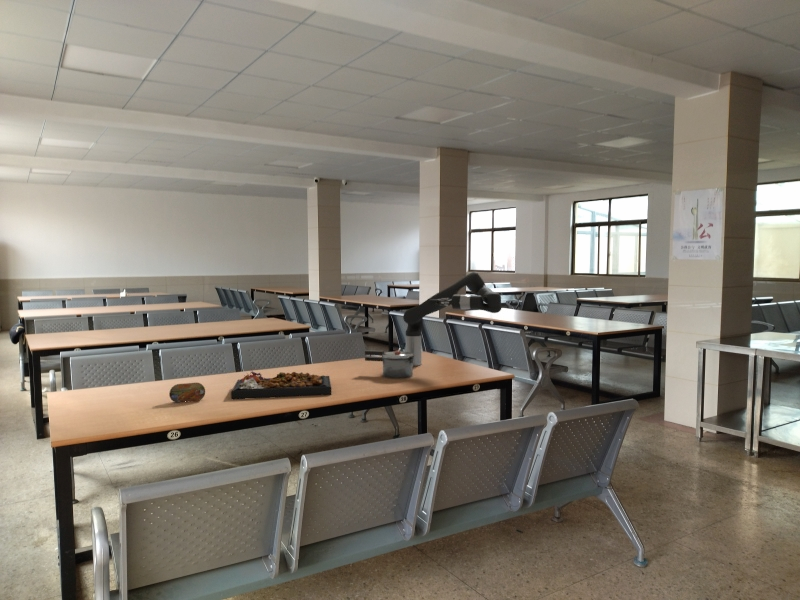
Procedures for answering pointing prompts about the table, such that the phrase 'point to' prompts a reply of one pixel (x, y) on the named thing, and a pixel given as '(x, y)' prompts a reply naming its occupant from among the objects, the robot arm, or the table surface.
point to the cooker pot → (395, 367)
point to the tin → (187, 392)
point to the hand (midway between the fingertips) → (429, 301)
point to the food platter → (281, 386)
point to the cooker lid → (391, 354)
